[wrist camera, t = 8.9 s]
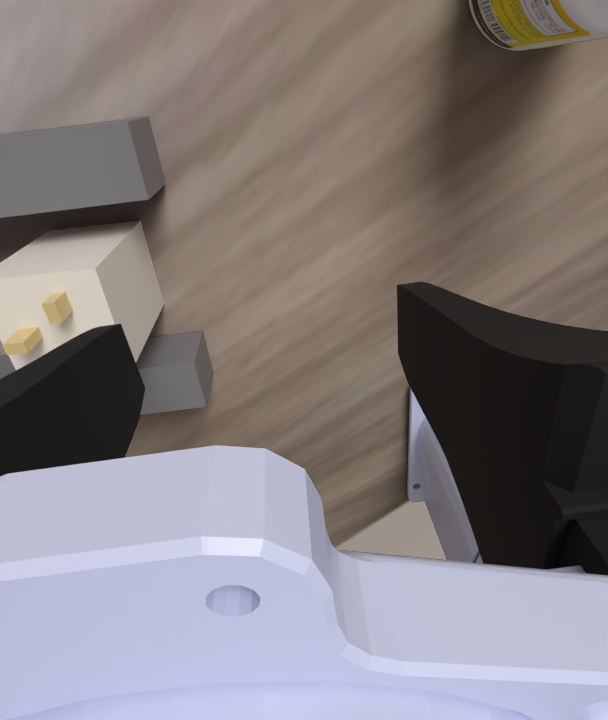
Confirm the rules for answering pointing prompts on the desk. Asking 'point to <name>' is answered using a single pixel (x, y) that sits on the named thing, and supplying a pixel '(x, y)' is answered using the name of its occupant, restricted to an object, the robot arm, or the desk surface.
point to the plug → (77, 289)
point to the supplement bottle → (540, 22)
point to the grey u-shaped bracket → (95, 188)
